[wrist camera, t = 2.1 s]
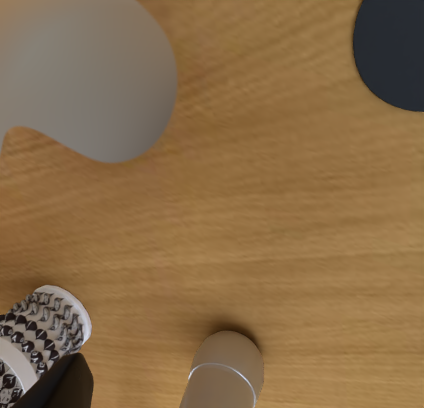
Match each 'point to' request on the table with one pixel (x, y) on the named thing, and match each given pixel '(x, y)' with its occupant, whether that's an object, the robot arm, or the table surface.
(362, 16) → the coaster
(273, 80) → the table surface
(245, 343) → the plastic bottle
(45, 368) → the white patterned cylinder
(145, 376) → the table surface
